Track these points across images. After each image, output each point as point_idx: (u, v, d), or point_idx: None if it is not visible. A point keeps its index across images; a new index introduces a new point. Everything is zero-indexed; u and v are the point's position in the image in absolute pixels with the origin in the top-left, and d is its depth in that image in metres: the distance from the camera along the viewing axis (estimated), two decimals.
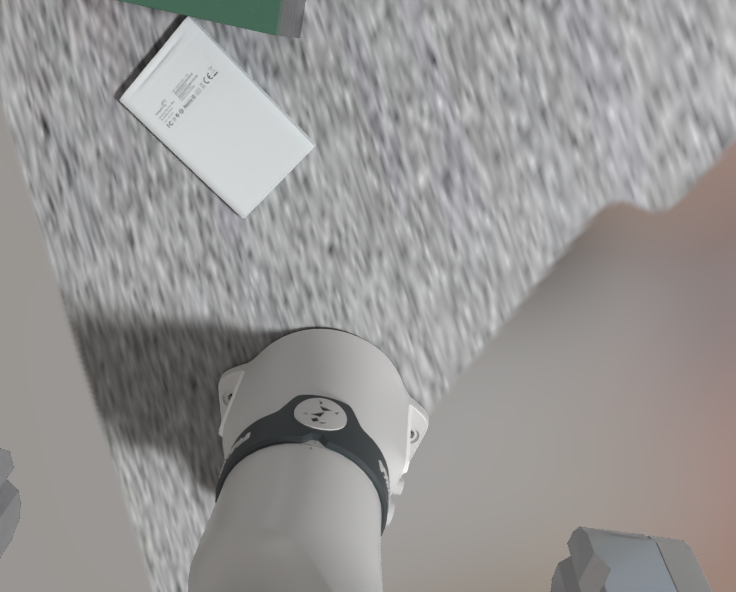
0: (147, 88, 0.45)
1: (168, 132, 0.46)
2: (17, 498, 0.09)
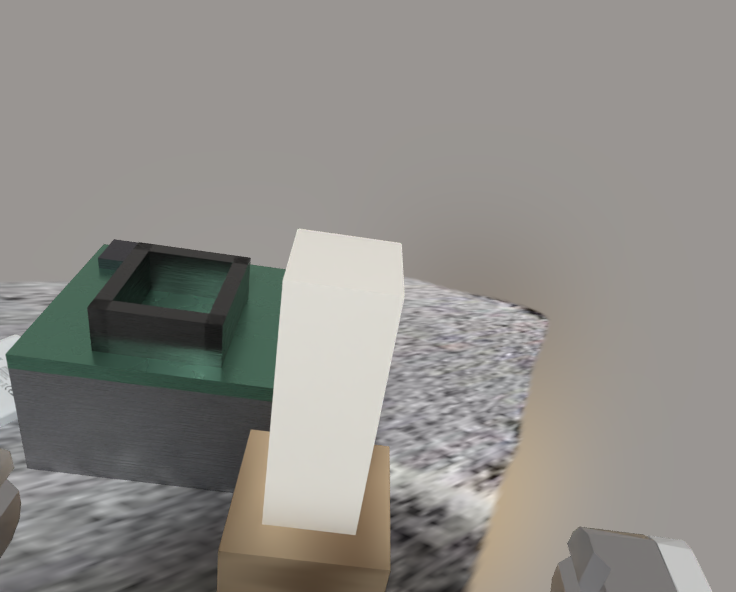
0: None
1: None
2: (17, 498, 0.09)
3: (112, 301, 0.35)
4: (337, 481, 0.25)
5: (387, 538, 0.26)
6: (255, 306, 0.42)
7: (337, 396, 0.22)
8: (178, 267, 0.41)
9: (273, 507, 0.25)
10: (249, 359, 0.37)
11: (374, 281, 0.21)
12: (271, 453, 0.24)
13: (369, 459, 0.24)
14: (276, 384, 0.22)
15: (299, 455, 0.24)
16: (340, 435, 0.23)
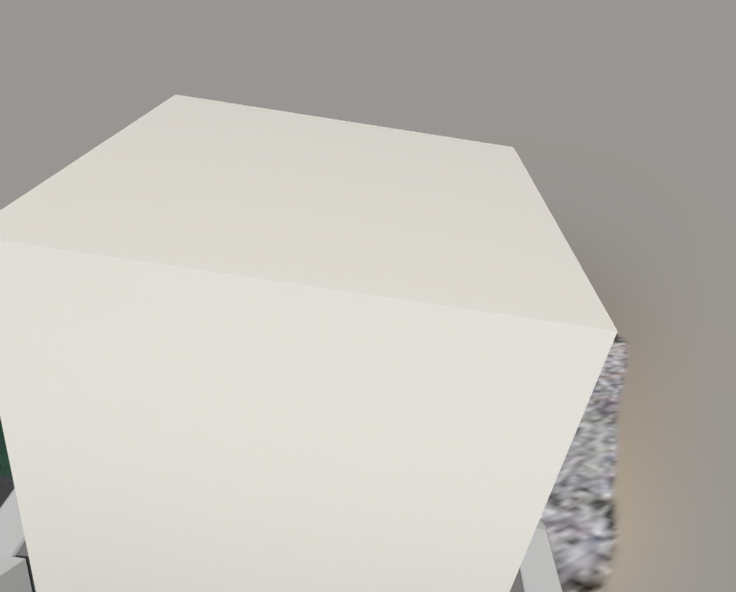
0: None
1: None
2: None
3: None
4: None
5: None
6: None
7: None
8: None
9: None
10: None
11: (446, 254, 0.04)
12: None
13: None
14: None
15: None
16: None
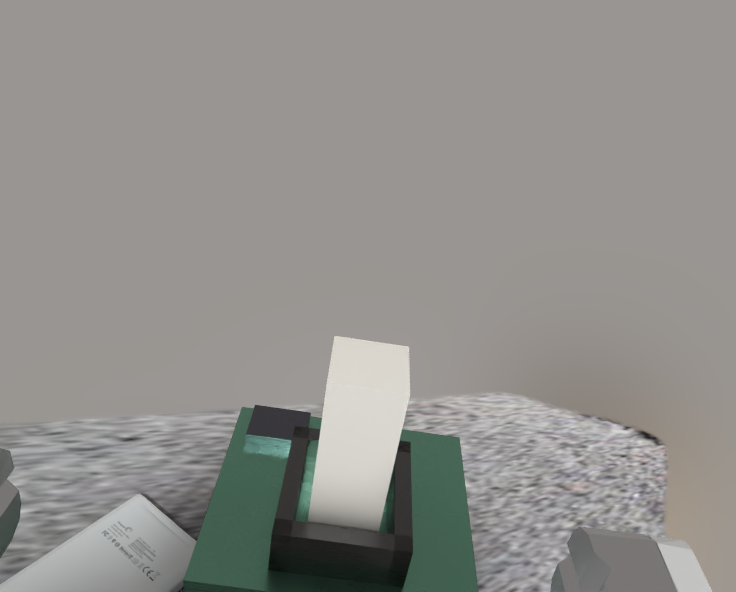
0: (146, 516, 0.45)
1: (97, 531, 0.43)
2: (17, 498, 0.09)
3: (294, 522, 0.33)
4: (360, 517, 0.34)
5: None
6: (413, 491, 0.40)
7: (362, 458, 0.32)
8: None
9: None
10: (428, 573, 0.35)
11: (389, 381, 0.30)
12: (313, 496, 0.33)
13: (384, 502, 0.33)
14: (319, 449, 0.31)
15: (334, 498, 0.33)
16: (363, 484, 0.33)
